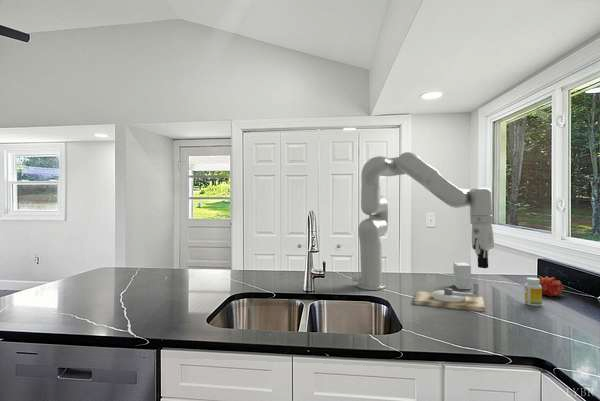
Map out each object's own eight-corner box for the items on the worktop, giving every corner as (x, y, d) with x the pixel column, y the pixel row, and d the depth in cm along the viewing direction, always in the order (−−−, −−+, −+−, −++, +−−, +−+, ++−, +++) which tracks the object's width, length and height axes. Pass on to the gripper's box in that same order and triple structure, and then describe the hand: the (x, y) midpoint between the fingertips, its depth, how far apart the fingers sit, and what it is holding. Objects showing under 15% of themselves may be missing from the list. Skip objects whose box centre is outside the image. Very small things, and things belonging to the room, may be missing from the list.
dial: (430, 300, 131) (430, 283, 131) (432, 292, 142) (432, 276, 142) (479, 305, 124) (479, 287, 124) (478, 296, 135) (477, 280, 135)
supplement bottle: (521, 303, 131) (521, 278, 131) (530, 301, 133) (529, 276, 133) (536, 307, 126) (536, 280, 126) (545, 305, 129) (544, 279, 129)
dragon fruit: (530, 298, 142) (561, 303, 141) (542, 290, 135) (574, 295, 134) (525, 279, 147) (555, 283, 146) (537, 270, 140) (568, 275, 139)
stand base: (413, 304, 133) (413, 299, 133) (417, 294, 145) (417, 290, 145) (484, 311, 122) (484, 306, 122) (482, 300, 135) (482, 296, 135)
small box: (471, 289, 152) (471, 265, 152) (457, 289, 153) (457, 265, 153) (466, 285, 160) (466, 262, 160) (453, 284, 161) (453, 262, 161)
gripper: (484, 221, 126) (486, 271, 126) (498, 219, 136) (500, 265, 136) (463, 221, 132) (465, 269, 131) (478, 218, 142) (480, 263, 141)
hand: (483, 267), depth 134 cm, fingers closed
